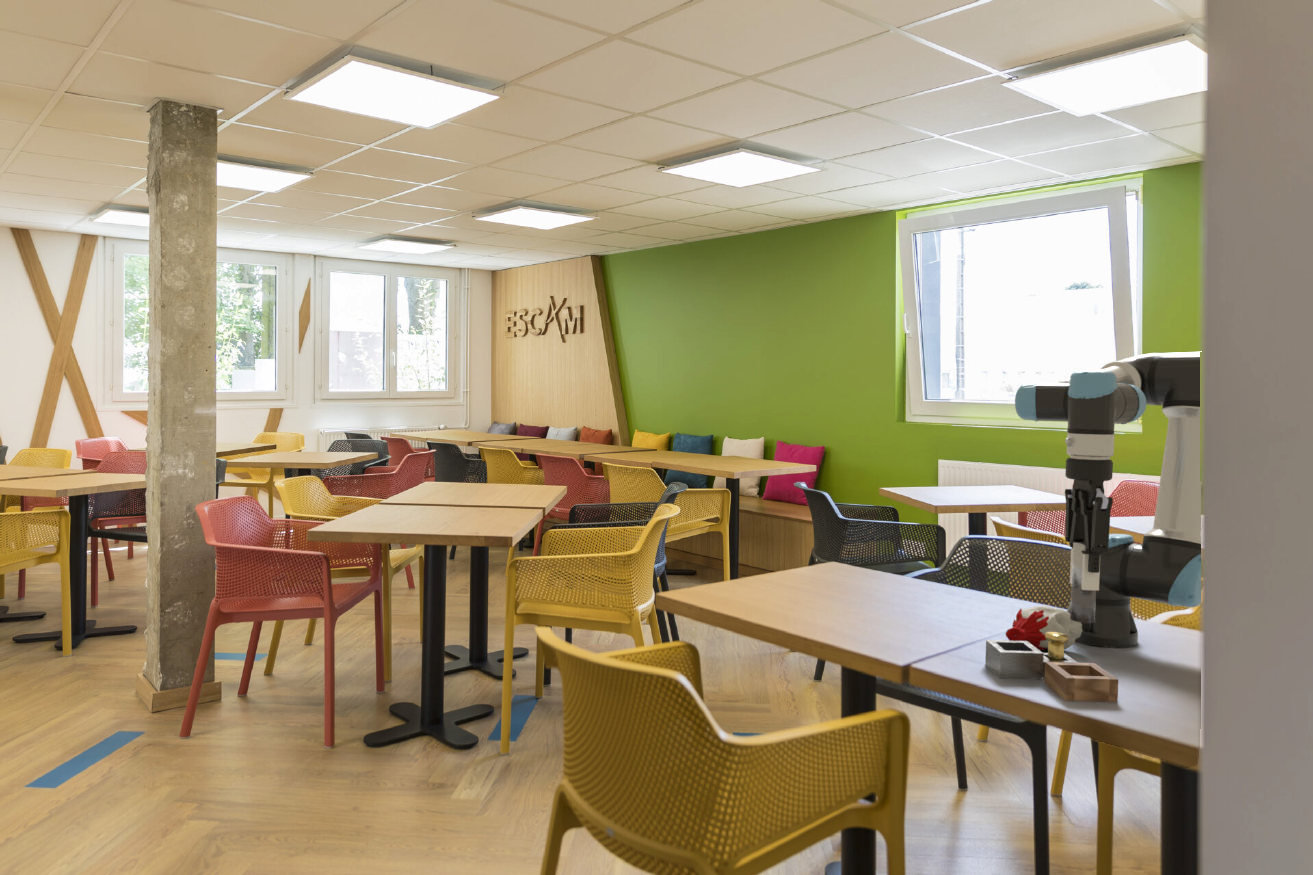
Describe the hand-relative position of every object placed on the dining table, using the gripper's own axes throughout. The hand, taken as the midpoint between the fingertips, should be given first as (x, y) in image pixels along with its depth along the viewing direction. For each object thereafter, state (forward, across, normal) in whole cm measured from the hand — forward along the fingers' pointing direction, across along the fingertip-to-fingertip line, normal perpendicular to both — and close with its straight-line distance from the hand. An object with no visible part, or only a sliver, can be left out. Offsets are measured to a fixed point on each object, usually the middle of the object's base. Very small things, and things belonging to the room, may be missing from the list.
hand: (1084, 586), depth 153 cm
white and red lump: (+20, -27, +3) cm, 33 cm away
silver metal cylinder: (+6, 0, 0) cm, 6 cm away
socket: (+19, -11, -4) cm, 23 cm away
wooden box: (+19, 0, 0) cm, 19 cm away
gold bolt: (+19, -11, 0) cm, 22 cm away
